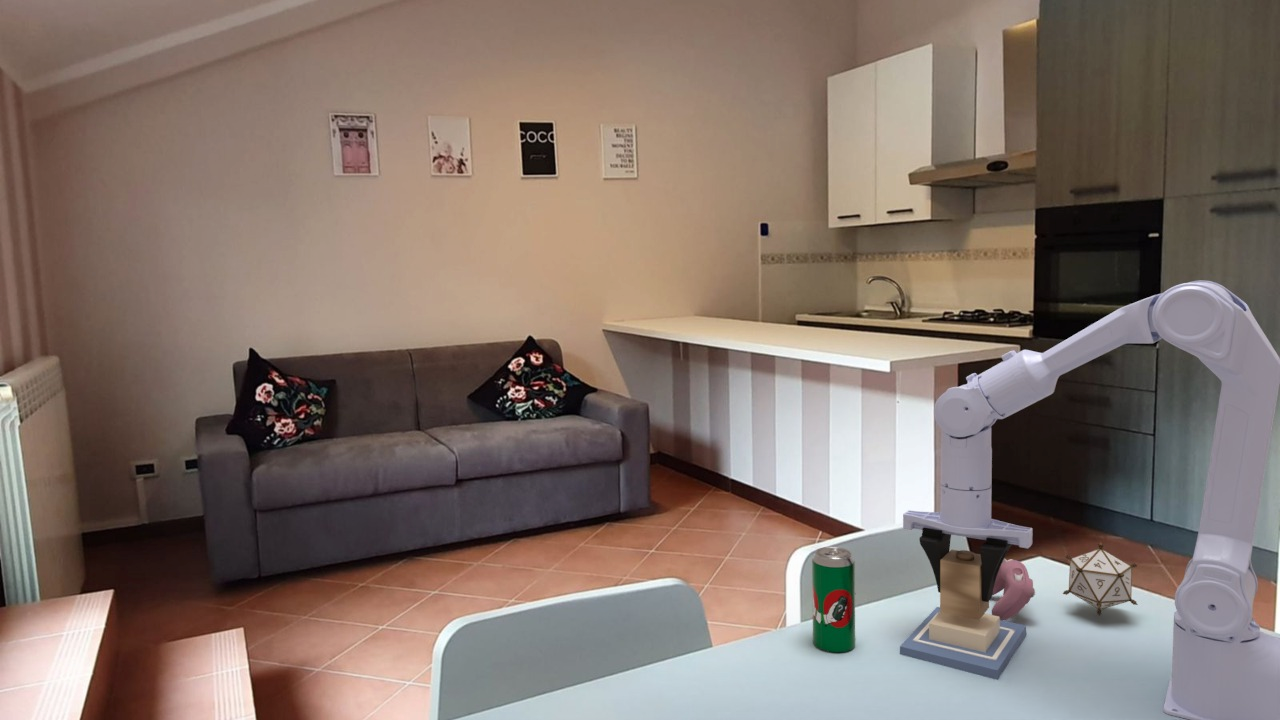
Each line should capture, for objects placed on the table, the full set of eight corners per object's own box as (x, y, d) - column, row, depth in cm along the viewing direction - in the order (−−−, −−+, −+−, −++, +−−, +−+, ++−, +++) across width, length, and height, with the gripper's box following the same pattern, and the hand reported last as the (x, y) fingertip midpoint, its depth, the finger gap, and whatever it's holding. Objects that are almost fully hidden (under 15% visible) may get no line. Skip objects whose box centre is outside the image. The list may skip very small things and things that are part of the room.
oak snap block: (989, 607, 101) (989, 551, 101) (978, 620, 98) (979, 561, 97) (951, 599, 104) (951, 544, 103) (940, 612, 100) (940, 555, 100)
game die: (1137, 635, 102) (1139, 556, 101) (1060, 623, 107) (1061, 547, 106) (1136, 609, 110) (1138, 535, 109) (1064, 598, 114) (1066, 527, 113)
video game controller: (1027, 632, 106) (1044, 581, 105) (990, 620, 107) (1007, 570, 106) (1009, 601, 115) (1024, 555, 114) (975, 591, 116) (991, 545, 115)
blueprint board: (1026, 634, 104) (1026, 610, 103) (997, 680, 92) (997, 653, 92) (936, 615, 110) (936, 592, 110) (899, 655, 99) (899, 630, 99)
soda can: (863, 647, 102) (863, 552, 100) (838, 660, 98) (837, 562, 97) (829, 634, 105) (828, 542, 104) (804, 646, 102) (803, 552, 101)
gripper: (1038, 485, 98) (1037, 595, 99) (916, 471, 107) (916, 573, 108) (1025, 499, 92) (1023, 616, 94) (897, 482, 101) (897, 590, 103)
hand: (964, 594), depth 101 cm, fingers closed on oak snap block, 4 cm apart
